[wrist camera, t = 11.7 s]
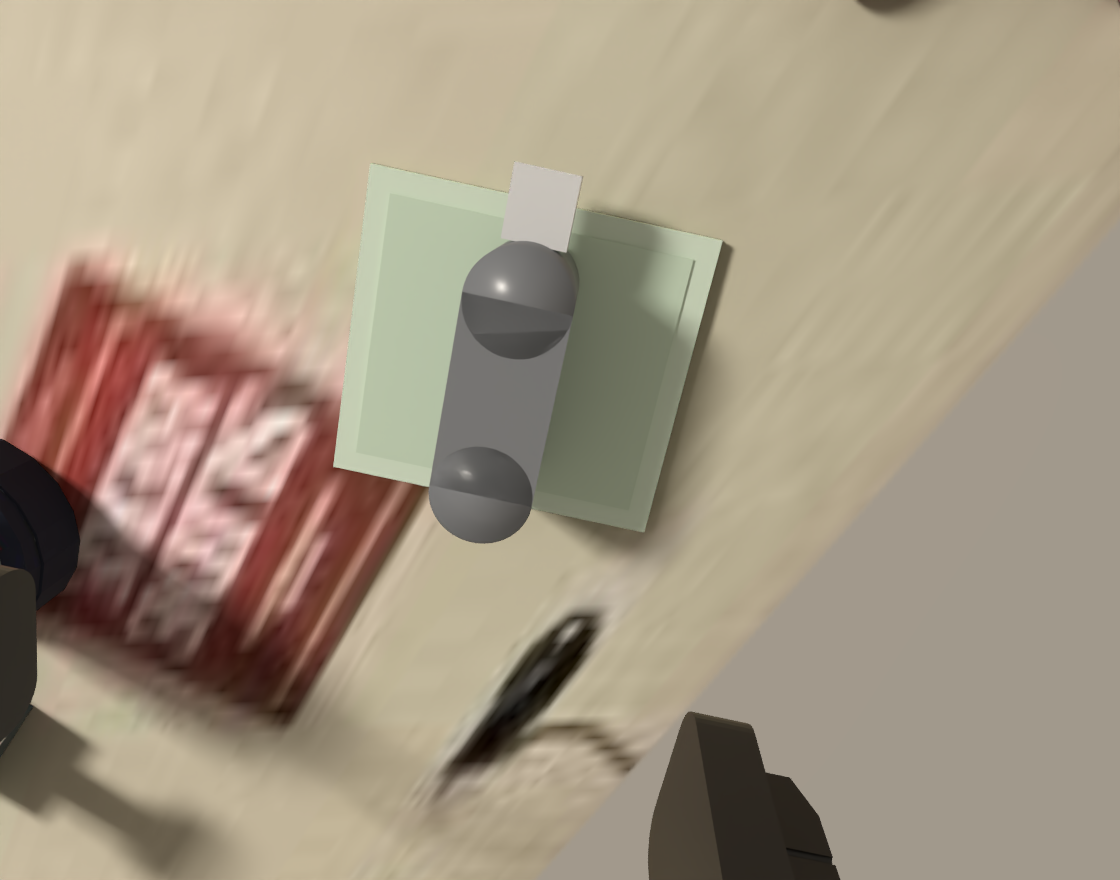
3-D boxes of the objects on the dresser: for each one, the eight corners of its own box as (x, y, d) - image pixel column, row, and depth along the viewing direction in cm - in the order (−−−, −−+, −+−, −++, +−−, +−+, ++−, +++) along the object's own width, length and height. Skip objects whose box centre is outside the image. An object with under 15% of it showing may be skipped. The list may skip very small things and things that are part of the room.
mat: (374, 163, 26) (369, 163, 26) (720, 239, 26) (723, 240, 26) (337, 462, 30) (332, 467, 29) (643, 527, 30) (644, 533, 29)
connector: (507, 159, 25) (485, 154, 21) (602, 181, 25) (602, 180, 21) (451, 474, 29) (421, 531, 24) (534, 492, 29) (521, 552, 24)
